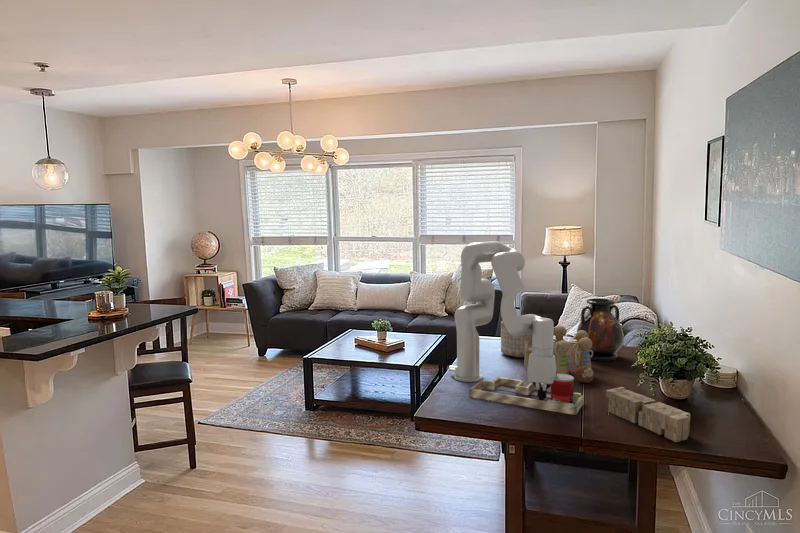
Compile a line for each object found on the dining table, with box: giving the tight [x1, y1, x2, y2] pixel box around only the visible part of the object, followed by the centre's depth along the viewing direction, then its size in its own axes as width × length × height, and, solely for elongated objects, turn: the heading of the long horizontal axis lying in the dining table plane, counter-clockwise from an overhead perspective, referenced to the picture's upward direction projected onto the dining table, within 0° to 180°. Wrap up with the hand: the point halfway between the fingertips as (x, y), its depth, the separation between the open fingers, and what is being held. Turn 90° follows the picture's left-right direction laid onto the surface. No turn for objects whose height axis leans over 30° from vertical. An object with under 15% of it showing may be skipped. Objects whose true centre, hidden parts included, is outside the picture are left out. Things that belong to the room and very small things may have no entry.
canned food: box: [550, 374, 575, 404], centre depth 195 cm, size 8×8×11 cm
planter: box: [500, 320, 528, 359], centre depth 265 cm, size 19×19×16 cm
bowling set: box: [523, 325, 595, 384], centre depth 231 cm, size 38×26×20 cm
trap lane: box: [468, 376, 585, 416], centre depth 205 cm, size 40×20×4 cm, turn 60°
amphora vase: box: [576, 297, 625, 362], centre depth 258 cm, size 22×22×28 cm
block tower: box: [605, 386, 691, 443], centre depth 179 cm, size 8×8×29 cm
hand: (541, 399), depth 199 cm, fingers closed
